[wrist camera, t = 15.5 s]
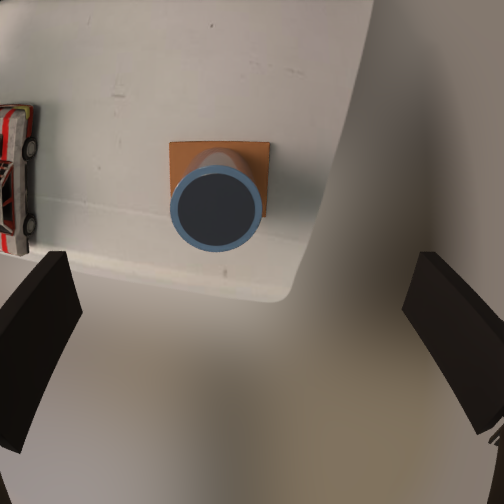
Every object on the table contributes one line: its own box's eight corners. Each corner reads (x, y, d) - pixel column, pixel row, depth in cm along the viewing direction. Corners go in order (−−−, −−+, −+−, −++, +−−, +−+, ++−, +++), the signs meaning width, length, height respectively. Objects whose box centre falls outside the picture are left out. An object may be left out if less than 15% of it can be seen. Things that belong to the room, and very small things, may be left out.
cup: (254, 147, 30) (265, 166, 22) (251, 213, 33) (260, 252, 25) (183, 147, 30) (167, 165, 22) (185, 213, 33) (172, 252, 25)
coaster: (269, 142, 31) (269, 143, 30) (265, 215, 34) (265, 217, 34) (170, 141, 30) (169, 142, 29) (172, 215, 33) (171, 217, 33)
